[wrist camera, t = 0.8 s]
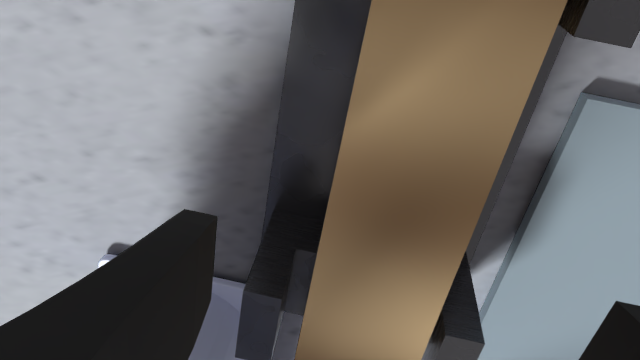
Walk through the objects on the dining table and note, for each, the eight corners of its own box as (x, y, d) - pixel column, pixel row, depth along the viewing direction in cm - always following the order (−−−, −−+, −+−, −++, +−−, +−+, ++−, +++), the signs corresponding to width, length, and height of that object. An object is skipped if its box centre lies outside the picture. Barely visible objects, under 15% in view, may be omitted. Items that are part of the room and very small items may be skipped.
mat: (586, 487, 26) (590, 499, 26) (416, 449, 26) (416, 460, 26) (860, 150, 16) (876, 158, 15) (581, 92, 16) (587, 98, 16)
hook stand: (437, 322, 22) (449, 435, 17) (258, 282, 22) (222, 384, 17) (642, -179, 13) (783, -221, 8) (333, -239, 13) (300, -313, 8)
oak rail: (392, 345, 19) (392, 430, 16) (301, 324, 19) (284, 406, 16) (572, -159, 11) (641, -181, 8) (412, -191, 11) (420, -224, 8)
